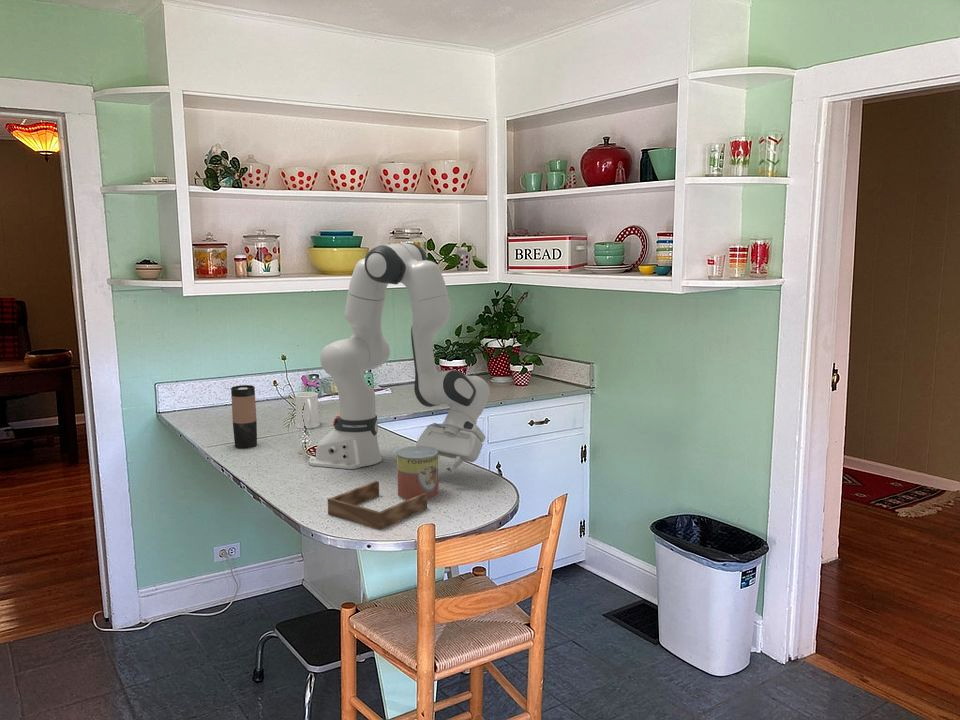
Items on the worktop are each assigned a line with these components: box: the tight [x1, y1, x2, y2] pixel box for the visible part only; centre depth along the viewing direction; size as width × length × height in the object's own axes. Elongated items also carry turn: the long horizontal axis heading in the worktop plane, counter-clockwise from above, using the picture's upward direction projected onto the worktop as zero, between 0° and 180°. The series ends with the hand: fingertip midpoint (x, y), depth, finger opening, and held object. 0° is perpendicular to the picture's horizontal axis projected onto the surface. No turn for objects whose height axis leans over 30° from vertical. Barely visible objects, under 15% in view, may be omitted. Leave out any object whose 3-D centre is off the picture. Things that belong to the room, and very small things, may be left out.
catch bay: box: [327, 480, 428, 530], centre depth 207 cm, size 18×18×4 cm
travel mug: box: [230, 384, 258, 450], centre depth 267 cm, size 8×8×20 cm
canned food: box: [396, 445, 440, 501], centre depth 220 cm, size 11×11×12 cm
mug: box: [294, 391, 321, 430], centre depth 292 cm, size 12×8×12 cm
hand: (436, 468), depth 226 cm, fingers open, 8 cm apart
